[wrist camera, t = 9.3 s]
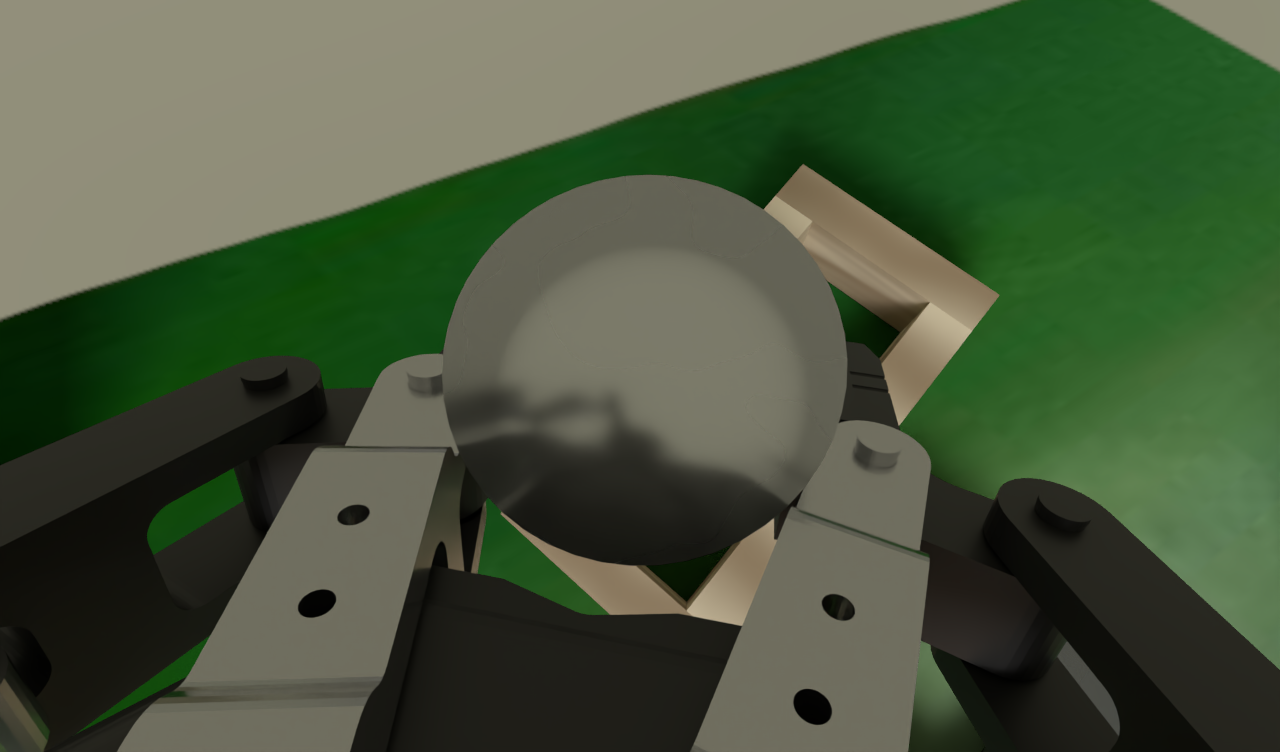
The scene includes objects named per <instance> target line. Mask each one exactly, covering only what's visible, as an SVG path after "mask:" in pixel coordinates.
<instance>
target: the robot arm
mask: <svg viewBox="0 0 1280 752" xmlns="http://www.w3.org/2000/svg"><path fill="white" fill-rule="evenodd" d="M443 351H444V349H443V350H442V351H441V352H440V353H439V354H425V355H418V356H412V357H409V358H405V359H402V360H400V361H397V362H395V363H393V364H391V365H390V366H388V367H387V368H385V369H384V370H383V371H382V372H381V374H380V375H379V377H378V379H377V381H376V383H375V385H374V387H372V388H346V389H324V387H323V382H322V378H321V373H320V369H319V368H318V366H317V365H316V364H315V363H313V362H311V361H309V360H307V359H304V358H299V357H293V356H270V357H263V358H258V359H253V360H249V361H246V362H242V363H240V364H237V365H234V366H232V367H230V368H227V369H225V370H223V371H220V372H218V373H216V374H213V375H211V376H209V377H206V378H204V379H202V380H199V381H197V382H195V383H192V384H190V385H187V386H185V387H183V388H180V389H178V390H176V391H173V392H171V393H169V394H166V395H164V396H162V397H159V398H157V399H155V400H152V401H150V402H148V403H145V404H143V405H141V406H138V407H136V408H134V409H131V410H129V411H127V412H124V413H122V414H120V415H117V416H115V417H112V418H110V419H108V420H105V421H103V422H101V423H98V424H96V425H94V426H91V427H89V428H87V429H84V430H82V431H80V432H77V433H75V434H73V435H70V436H68V437H66V438H63V439H61V440H59V441H56V442H54V443H52V444H49V445H47V446H45V447H42V448H40V449H38V450H35V451H33V452H30V453H28V454H26V455H23V456H21V457H19V458H16V459H14V460H12V461H9V462H7V463H5V464H2V465H0V752H908V748H909V739H910V730H911V722H912V713H913V704H914V695H915V687H916V678H917V669H918V660H919V652H920V643H921V641H923V642H926V643H928V644H930V645H931V651H932V655H933V658H934V660H935V662H936V664H937V666H938V667H939V669H940V671H941V672H942V674H943V676H944V677H945V679H946V681H947V683H948V684H949V686H950V688H951V689H952V691H953V693H954V694H955V696H956V698H957V699H958V701H959V703H960V704H961V706H962V708H963V709H964V711H965V713H966V714H967V716H968V718H969V720H970V721H971V723H972V725H973V726H974V728H975V730H976V731H977V733H978V735H979V736H980V738H981V740H982V741H983V743H984V745H985V746H986V748H987V750H988V751H989V752H1280V670H1279V669H1278V668H1277V667H1276V666H1275V665H1274V664H1273V663H1272V662H1271V661H1269V660H1268V659H1267V658H1266V657H1265V656H1264V655H1263V654H1262V653H1261V652H1260V651H1259V650H1258V649H1256V648H1255V647H1254V646H1253V645H1252V644H1251V643H1250V642H1249V641H1248V640H1247V639H1246V638H1245V637H1244V636H1242V635H1241V634H1240V633H1239V632H1238V631H1237V630H1236V629H1235V628H1234V627H1233V626H1232V625H1231V624H1229V623H1228V622H1227V621H1226V620H1225V619H1224V618H1223V617H1222V616H1221V615H1220V614H1219V613H1218V612H1217V611H1215V610H1214V609H1213V608H1212V607H1211V606H1210V605H1209V604H1208V603H1207V602H1206V601H1205V600H1204V599H1202V598H1201V597H1200V596H1199V595H1198V594H1197V593H1196V592H1195V591H1194V590H1193V589H1192V588H1191V587H1190V586H1188V585H1187V584H1186V583H1185V582H1184V581H1183V580H1182V579H1181V578H1180V577H1179V576H1178V575H1177V574H1175V573H1174V572H1173V571H1172V570H1171V569H1170V568H1169V567H1168V566H1167V565H1166V564H1165V563H1164V562H1162V561H1161V560H1160V559H1159V558H1158V557H1157V556H1156V555H1155V554H1154V553H1153V552H1152V551H1151V550H1150V549H1148V548H1147V547H1146V546H1145V545H1144V544H1143V543H1142V542H1141V541H1140V540H1139V539H1138V538H1137V537H1135V536H1134V535H1133V534H1132V533H1131V532H1130V531H1129V530H1128V529H1127V528H1126V527H1125V526H1124V525H1123V524H1121V523H1120V522H1119V521H1118V520H1117V519H1116V518H1115V517H1114V516H1113V515H1112V514H1111V513H1110V512H1108V511H1107V510H1106V509H1105V508H1104V507H1102V506H1101V505H1100V504H1098V503H1097V502H1095V501H1094V500H1092V499H1090V498H1089V497H1087V496H1085V495H1084V494H1082V493H1080V492H1077V491H1075V490H1073V489H1071V488H1068V487H1066V486H1063V485H1060V484H1057V483H1054V482H1050V481H1046V480H1041V479H1033V478H1021V479H1014V480H1011V481H1008V482H1006V483H1005V484H1003V485H1002V486H1001V488H1000V489H999V491H998V493H997V496H996V498H995V500H992V499H989V498H986V497H984V496H981V495H978V494H975V493H973V492H970V491H967V490H964V489H962V488H959V487H956V486H954V485H951V484H949V483H947V482H945V481H943V480H941V479H939V478H937V477H935V476H934V475H932V474H930V470H931V461H930V458H929V455H928V454H927V452H926V450H925V449H924V448H923V447H922V446H921V445H920V444H919V443H918V442H917V441H916V440H914V439H913V438H911V437H910V436H908V435H907V434H905V433H903V432H901V431H900V428H899V425H898V421H897V418H896V414H895V410H894V407H893V403H892V400H891V396H890V393H888V391H889V389H888V385H887V382H886V380H885V375H884V371H883V368H882V364H881V361H880V359H879V358H878V357H877V356H876V355H875V354H874V353H873V352H872V351H871V350H870V349H869V348H868V347H867V346H866V345H865V344H860V343H853V342H846V351H847V387H846V392H845V398H844V403H843V409H842V414H841V417H840V420H839V423H838V426H837V429H836V432H835V435H834V438H833V440H832V442H831V444H830V447H829V449H828V451H827V453H826V455H825V457H824V459H823V461H822V463H821V464H820V466H819V467H818V469H817V470H816V472H815V473H814V475H813V476H812V478H811V479H810V481H809V482H808V484H807V485H806V486H805V488H804V489H803V490H802V491H801V492H800V493H799V494H798V495H797V496H796V498H795V499H794V500H793V501H792V502H791V503H790V504H789V505H788V506H787V507H786V508H785V509H784V510H783V511H782V512H781V513H779V514H778V515H777V516H776V517H775V518H774V540H777V542H776V544H775V547H774V549H773V552H772V554H771V556H770V559H769V561H768V564H767V566H766V569H765V571H764V574H763V576H762V579H761V581H760V583H759V586H758V588H757V591H756V593H755V596H754V598H753V601H752V603H751V606H750V608H749V610H748V613H747V615H746V618H745V620H744V623H743V625H742V626H740V625H735V624H730V623H724V622H719V621H714V620H709V619H704V618H699V617H694V616H689V615H684V614H679V613H675V614H626V615H586V614H581V613H578V612H575V611H573V610H571V609H569V608H566V607H564V606H562V605H560V604H558V603H555V602H553V601H551V600H549V599H547V598H544V597H542V596H540V595H538V594H535V593H533V592H531V591H529V590H527V589H524V588H522V587H520V586H518V585H516V584H513V583H511V582H509V581H507V580H505V579H501V578H496V577H491V576H486V575H481V574H477V571H478V565H479V559H480V553H481V547H482V541H483V535H484V529H485V523H486V502H485V501H486V500H487V498H488V496H487V495H486V494H485V493H484V492H483V490H482V489H481V487H480V486H479V485H478V483H477V482H476V480H475V479H474V478H473V476H472V475H471V473H470V472H469V470H468V468H467V466H466V464H465V462H464V460H463V459H462V457H461V455H460V453H459V451H458V449H457V446H456V443H455V440H454V438H453V435H452V432H451V429H450V426H449V422H448V418H447V413H446V408H445V403H444V395H443V382H442V368H443ZM232 468H234V471H235V474H236V477H237V480H238V484H239V487H240V490H241V493H242V496H243V500H244V501H243V502H241V503H240V504H238V505H236V506H235V507H233V508H231V509H230V510H228V511H226V512H225V513H223V514H221V515H220V516H218V517H216V518H215V519H213V520H211V521H210V522H208V523H206V524H205V525H203V526H201V527H200V528H198V529H196V530H195V531H193V532H191V533H190V534H188V535H186V536H185V537H183V538H181V539H180V540H178V541H176V542H175V543H173V544H171V545H170V546H168V547H166V548H165V549H163V550H161V551H160V552H158V553H156V554H155V555H153V554H152V551H151V549H150V547H149V544H148V541H147V531H148V528H149V525H150V523H151V521H152V519H153V518H154V517H155V515H156V514H157V513H158V512H159V511H160V510H161V509H162V508H163V507H165V506H166V505H167V504H169V503H171V502H172V501H174V500H176V499H178V498H180V497H181V496H183V495H185V494H187V493H189V492H190V491H192V490H194V489H196V488H198V487H200V486H201V485H203V484H205V483H207V482H209V481H210V480H212V479H214V478H216V477H218V476H220V475H221V474H223V473H225V472H227V471H229V470H230V469H232ZM209 635H211V636H210V637H209V639H208V641H207V643H206V645H205V646H204V648H203V650H202V652H201V654H200V656H199V657H198V659H197V661H196V663H195V665H194V666H193V668H192V670H191V672H190V673H189V675H188V676H187V677H185V678H184V679H182V680H180V681H178V682H176V683H174V684H172V685H170V686H168V687H166V688H164V689H162V690H160V691H159V692H157V693H155V694H153V695H151V696H149V697H147V698H145V699H143V700H141V701H139V702H137V703H135V704H134V705H132V706H130V707H128V708H126V709H124V710H122V711H120V712H118V713H116V714H114V715H112V716H110V717H109V718H107V719H105V720H103V721H101V722H99V723H97V724H95V725H93V726H91V727H89V728H87V729H85V730H84V731H82V732H80V733H78V734H76V733H77V732H79V731H80V730H81V729H83V728H84V727H85V726H87V725H88V724H90V723H91V722H92V721H94V720H95V719H96V718H98V717H99V716H100V715H102V714H103V713H105V712H106V711H107V710H109V709H110V708H111V707H113V706H114V705H115V704H117V703H118V702H120V701H121V700H122V699H124V698H125V697H126V696H128V695H129V694H130V693H132V692H133V691H135V690H136V689H137V688H139V687H140V686H141V685H143V684H144V683H145V682H147V681H148V680H150V679H151V678H152V677H154V676H155V675H156V674H158V673H159V672H160V671H162V670H163V669H164V668H166V667H167V666H169V665H170V664H171V663H173V662H174V661H175V660H177V659H178V658H179V657H181V656H182V655H184V654H185V653H186V652H188V651H189V650H190V649H192V648H193V647H194V646H196V645H197V644H199V643H200V642H201V641H203V640H204V639H205V638H207V637H208V636H209ZM1066 642H1068V643H1069V644H1070V645H1071V647H1072V648H1073V649H1074V650H1075V652H1076V653H1077V654H1078V655H1079V656H1080V658H1081V659H1082V660H1083V661H1084V663H1085V664H1086V665H1087V666H1088V668H1089V669H1090V670H1091V671H1092V673H1093V674H1094V675H1095V676H1096V677H1097V679H1098V680H1099V681H1100V682H1101V684H1102V685H1103V686H1104V687H1105V689H1106V690H1107V692H1108V693H1109V695H1110V696H1111V698H1112V700H1113V702H1114V705H1115V707H1116V710H1117V713H1118V717H1119V723H1120V732H1119V736H1118V734H1117V733H1116V732H1115V730H1114V729H1113V728H1112V727H1111V725H1110V724H1109V723H1108V721H1107V720H1106V719H1105V718H1104V716H1103V715H1102V714H1101V712H1100V711H1099V710H1098V709H1097V707H1096V706H1095V705H1094V703H1093V702H1092V701H1091V700H1090V698H1089V697H1088V696H1087V694H1086V693H1085V692H1084V691H1083V689H1082V688H1081V687H1080V685H1079V684H1078V683H1077V682H1076V680H1075V679H1074V678H1073V676H1072V675H1071V674H1070V673H1069V671H1068V670H1067V669H1066V667H1065V666H1064V665H1063V664H1062V662H1061V661H1060V660H1059V658H1058V657H1057V656H1058V654H1059V653H1060V651H1061V650H1062V648H1063V646H1064V645H1065V643H1066ZM75 734H76V735H75ZM73 735H74V736H73Z"/></svg>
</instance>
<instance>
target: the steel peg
mask: <svg viewBox="0 0 1280 752" xmlns="http://www.w3.org/2000/svg"><path fill="white" fill-rule="evenodd" d="M442 382H443V395H444V403H445V408H446V413H447V418H448V422H449V426H450V429H451V432H452V435H453V438H454V440H455V443H456V446H457V449H458V451H459V453H460V455H461V457H462V459H463V460H464V462H465V464H466V466H467V468H468V470H469V472H470V473H471V475H472V476H473V478H474V479H475V480H476V482H477V483H478V485H479V486H480V487H481V489H482V490H483V492H484V493H485V494H486V495H487V496H488V498H489V499H490V500H491V501H492V502H493V503H494V504H495V505H496V506H497V507H498V508H499V509H500V510H501V511H502V512H503V513H504V514H505V515H506V516H507V517H509V518H510V519H511V520H513V521H514V522H515V523H516V524H518V525H519V526H520V527H521V528H523V529H524V530H525V531H527V532H529V533H530V534H532V535H534V536H535V537H537V538H539V539H540V540H542V541H544V542H545V543H547V544H549V545H551V546H554V547H556V548H559V549H561V550H563V551H566V552H568V553H571V554H573V555H576V556H580V557H584V558H587V559H591V560H595V561H599V562H604V563H612V564H620V565H629V566H640V565H663V564H670V563H676V562H682V561H688V560H691V559H695V558H698V557H702V556H705V555H708V554H712V553H715V552H717V551H719V550H722V549H724V548H726V547H728V546H730V545H733V544H735V543H737V542H739V541H741V540H743V539H744V538H746V537H748V536H749V535H751V534H752V533H754V532H756V531H757V530H759V529H760V528H762V527H763V526H765V525H766V524H767V523H769V522H770V521H771V520H772V519H773V518H775V517H776V516H777V515H778V514H779V513H781V512H782V511H783V510H784V509H785V508H786V507H787V506H788V505H789V504H790V503H791V502H792V501H793V500H794V499H795V498H796V496H797V495H798V494H799V493H800V492H801V491H802V490H803V489H804V488H805V486H806V485H807V484H808V482H809V481H810V479H811V478H812V476H813V475H814V473H815V472H816V470H817V469H818V467H819V466H820V464H821V463H822V461H823V459H824V457H825V455H826V453H827V451H828V449H829V447H830V444H831V442H832V440H833V438H834V435H835V432H836V429H837V426H838V423H839V420H840V417H841V414H842V409H843V403H844V398H845V392H846V387H847V351H846V341H845V333H844V329H843V325H842V321H841V317H840V313H839V309H838V306H837V304H836V301H835V299H834V296H833V294H832V291H831V289H830V286H829V284H828V283H827V281H826V279H825V277H824V275H823V274H822V272H821V270H820V268H819V267H818V265H817V263H816V262H815V261H814V259H813V258H812V257H811V255H810V254H809V253H808V251H807V250H806V249H805V247H804V246H803V245H802V243H801V242H800V241H799V240H798V239H797V238H796V237H795V236H794V235H793V234H792V233H791V232H790V231H789V230H788V229H787V228H786V227H785V226H784V225H783V224H781V223H780V222H779V221H777V220H776V219H775V218H774V217H772V216H771V215H770V214H769V213H767V212H766V211H765V210H763V209H761V208H760V207H758V206H756V205H755V204H753V203H751V202H750V201H748V200H746V199H745V198H743V197H741V196H738V195H736V194H734V193H732V192H729V191H727V190H725V189H723V188H720V187H717V186H714V185H710V184H707V183H704V182H700V181H697V180H691V179H686V178H680V177H675V176H660V175H638V176H623V177H618V178H612V179H606V180H600V181H597V182H594V183H590V184H587V185H584V186H580V187H577V188H575V189H572V190H570V191H568V192H565V193H563V194H561V195H558V196H556V197H554V198H552V199H550V200H549V201H547V202H545V203H543V204H542V205H540V206H538V207H536V208H535V209H533V210H532V211H530V212H529V213H528V214H526V215H525V216H524V217H522V218H521V219H519V220H518V221H517V222H515V223H514V224H513V225H512V226H511V227H510V228H509V229H508V230H507V231H506V232H504V233H503V234H502V235H501V236H500V237H499V238H498V239H497V240H496V241H495V242H494V243H493V245H492V246H491V247H490V248H489V249H488V251H487V252H486V253H485V254H484V255H483V257H482V258H481V259H480V260H479V262H478V264H477V265H476V267H475V268H474V270H473V271H472V273H471V274H470V276H469V278H468V279H467V281H466V283H465V285H464V287H463V289H462V291H461V293H460V295H459V297H458V300H457V302H456V304H455V307H454V310H453V313H452V316H451V319H450V322H449V325H448V330H447V335H446V340H445V346H444V351H443V368H442Z"/></svg>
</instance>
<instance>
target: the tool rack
mask: <svg viewBox="0 0 1280 752" xmlns="http://www.w3.org/2000/svg"><path fill="white" fill-rule="evenodd" d="M764 210H765V211H766V212H767V213H769V214H770V215H771V216H772V217H774V218H775V219H776V220H777V221H779V222H780V223H781V224H783V225H784V226H785V227H786V228H787V229H788V230H789V231H790V232H791V233H792V234H793V235H794V236H795V237H796V238H797V239H798V240H799V241H800V242H801V243H802V245H803V246H804V247H805V249H806V250H807V251H808V253H809V254H810V255H811V257H812V258H813V259H814V261H815V262H816V263H817V265H818V267H819V268H820V270H821V272H822V274H823V275H824V277H825V279H826V280H827V281H828V282H830V283H831V284H833V285H834V286H835V287H837V288H838V289H840V290H841V291H843V292H844V293H845V294H847V295H848V296H850V297H851V298H852V299H854V300H855V301H857V302H858V303H860V304H861V305H862V306H864V307H865V308H867V309H868V310H869V311H871V312H872V313H874V314H875V315H877V316H878V317H879V318H881V319H882V320H884V321H885V322H886V323H888V324H889V325H891V326H892V327H893V328H895V329H896V330H898V331H899V332H900V333H899V335H898V336H897V337H896V338H895V340H894V341H893V342H892V343H891V345H890V346H889V347H888V348H887V350H886V351H885V352H884V354H883V355H882V356H881V357H880V361H881V364H882V368H883V371H884V375H885V380H886V382H887V385H888V389H889V391H888V393H890V396H891V400H892V403H893V407H894V410H895V414H896V418H897V421H898V425H900V424H901V422H902V421H903V420H904V419H905V417H906V416H907V415H908V413H909V412H910V411H911V409H912V408H913V407H914V406H915V404H916V403H917V402H918V400H919V399H920V398H921V396H922V395H923V394H924V393H925V391H926V390H927V389H928V387H929V386H930V385H931V383H932V382H933V381H934V380H935V378H936V377H937V376H938V374H939V373H940V372H941V371H942V369H943V368H944V367H945V365H946V364H947V363H948V361H949V360H950V359H951V358H952V356H953V355H954V354H955V352H956V351H957V350H958V348H959V347H960V346H961V345H962V343H963V342H964V341H965V339H966V338H967V337H968V335H969V334H970V333H971V332H972V330H973V329H974V328H975V326H976V325H977V324H978V322H979V321H980V320H981V319H982V317H983V316H984V315H985V313H986V312H987V311H988V309H989V308H990V307H991V306H992V304H993V303H994V302H995V300H996V299H997V298H998V296H999V294H997V293H996V292H994V291H993V290H991V289H990V288H988V287H987V286H985V285H984V284H982V283H981V282H979V281H978V280H976V279H975V278H973V277H972V276H970V275H969V274H967V273H966V272H964V271H963V270H961V269H960V268H958V267H957V266H955V265H954V264H952V263H951V262H949V261H948V260H946V259H945V258H943V257H942V256H940V255H939V254H937V253H936V252H934V251H933V250H931V249H930V248H928V247H927V246H925V245H924V244H922V243H921V242H919V241H918V240H916V239H915V238H913V237H912V236H910V235H909V234H907V233H906V232H904V231H903V230H901V229H900V228H898V227H897V226H895V225H894V224H892V223H891V222H889V221H888V220H886V219H885V218H883V217H882V216H880V215H879V214H877V213H876V212H874V211H873V210H871V209H870V208H868V207H867V206H865V205H864V204H862V203H861V202H859V201H858V200H856V199H855V198H853V197H852V196H850V195H849V194H847V193H846V192H844V191H843V190H841V189H840V188H838V187H837V186H835V185H834V184H832V183H831V182H829V181H828V180H826V179H825V178H823V177H822V176H820V175H819V174H817V173H816V172H814V171H813V170H811V169H810V168H808V167H807V166H805V165H804V164H803V165H802V166H801V167H800V168H799V169H798V170H797V171H796V173H795V174H794V175H793V176H792V177H791V178H790V180H789V181H788V182H787V183H786V184H785V185H784V186H783V188H782V189H781V190H780V191H779V192H778V193H777V195H776V196H775V197H774V198H773V199H772V200H771V202H770V203H769V204H768V205H767V206H766V207H765V208H764ZM501 515H502V516H503V517H505V518H506V519H507V520H508V521H509V522H510V523H511V524H512V525H513V526H514V527H515V528H517V529H518V530H519V531H520V532H521V533H522V534H523V535H524V536H525V537H526V538H527V539H529V540H530V541H531V542H532V543H533V544H534V545H535V546H536V547H537V548H538V549H539V550H541V551H542V552H543V553H544V554H545V555H546V556H547V557H548V558H549V559H550V560H551V561H553V562H554V563H555V564H556V565H557V566H558V567H559V568H560V569H561V570H562V571H563V572H565V573H566V574H567V575H568V576H569V577H570V578H571V579H572V580H573V581H574V582H575V583H577V584H578V585H579V586H580V587H581V588H582V589H583V590H584V591H585V592H586V593H587V594H589V595H590V596H591V597H592V598H593V599H594V600H595V601H596V602H597V603H598V604H599V605H600V606H602V607H603V608H604V609H605V610H606V611H607V612H608V613H609V614H610V615H626V614H675V613H679V614H684V615H689V616H694V617H699V618H704V619H709V620H714V621H719V622H724V623H730V624H735V625H740V626H742V625H743V623H744V620H745V618H746V615H747V613H748V610H749V608H750V606H751V603H752V601H753V598H754V596H755V593H756V591H757V588H758V586H759V583H760V581H761V579H762V576H763V574H764V571H765V569H766V566H767V564H768V561H769V559H770V556H771V554H772V552H773V549H774V547H775V544H776V542H777V540H774V518H773V519H772V520H771V521H770V522H769V523H767V524H766V525H765V526H763V527H762V528H760V529H759V530H757V531H756V532H754V533H752V534H751V535H749V536H748V537H746V538H744V539H743V540H741V541H739V542H737V543H735V544H733V545H732V546H731V547H730V548H729V549H728V551H727V552H726V553H725V554H724V556H723V557H722V558H721V559H720V561H719V562H718V563H717V565H716V566H715V567H714V568H713V570H712V571H711V572H710V573H709V575H708V576H707V577H706V578H705V580H704V581H703V582H702V583H701V585H700V586H699V587H698V589H697V590H696V591H695V592H694V594H693V595H692V596H691V597H690V599H689V600H688V601H687V602H686V601H685V600H684V599H683V598H682V597H680V596H679V595H678V594H677V593H676V592H675V591H674V590H672V589H671V588H670V587H669V586H668V585H667V584H666V583H665V582H663V581H662V580H661V579H660V578H659V577H658V576H657V575H655V574H654V573H653V572H652V571H651V570H650V569H649V568H648V567H646V566H645V565H640V566H629V565H620V564H612V563H604V562H599V561H595V560H591V559H587V558H584V557H580V556H576V555H573V554H571V553H568V552H566V551H563V550H561V549H559V548H556V547H554V546H551V545H549V544H547V543H545V542H544V541H542V540H540V539H539V538H537V537H535V536H534V535H532V534H530V533H529V532H527V531H525V530H524V529H523V528H521V527H520V526H519V525H518V524H516V523H515V522H514V521H513V520H511V519H510V518H509V517H507V516H506V515H505V514H504V513H503V512H502V513H501Z"/></svg>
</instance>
